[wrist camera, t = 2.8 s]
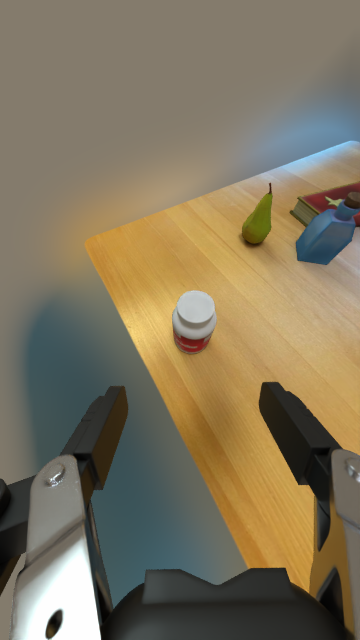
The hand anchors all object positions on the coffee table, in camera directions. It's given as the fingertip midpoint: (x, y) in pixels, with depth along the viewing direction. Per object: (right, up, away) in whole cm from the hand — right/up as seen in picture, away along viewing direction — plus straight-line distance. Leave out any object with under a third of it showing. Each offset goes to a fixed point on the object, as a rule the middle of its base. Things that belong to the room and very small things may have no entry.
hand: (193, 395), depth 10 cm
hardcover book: (+42, +33, +36) cm, 64 cm away
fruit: (+17, +24, +32) cm, 44 cm away
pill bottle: (+1, +1, +21) cm, 21 cm away
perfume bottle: (+30, +20, +30) cm, 47 cm away
